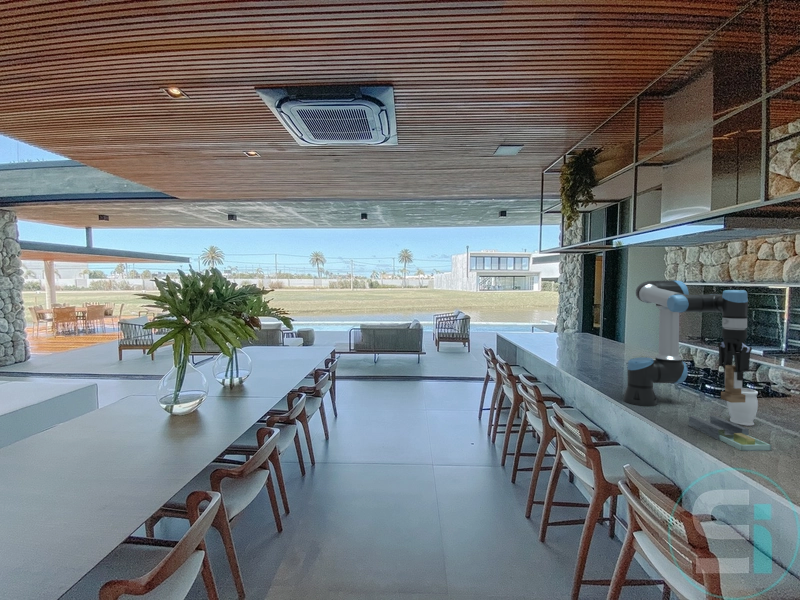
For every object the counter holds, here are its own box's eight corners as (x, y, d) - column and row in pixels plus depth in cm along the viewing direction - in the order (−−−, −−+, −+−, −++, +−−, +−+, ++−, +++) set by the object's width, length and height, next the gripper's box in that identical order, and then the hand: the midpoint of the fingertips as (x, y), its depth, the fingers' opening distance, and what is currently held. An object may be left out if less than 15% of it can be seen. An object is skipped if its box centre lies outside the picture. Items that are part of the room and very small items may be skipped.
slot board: (688, 425, 170) (688, 416, 170) (715, 425, 170) (716, 415, 170) (718, 440, 154) (718, 429, 154) (748, 439, 154) (748, 429, 154)
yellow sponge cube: (740, 436, 149) (747, 439, 146) (748, 435, 149) (755, 439, 146) (740, 443, 149) (747, 446, 146) (747, 443, 149) (755, 446, 146)
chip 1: (733, 440, 152) (733, 433, 152) (741, 440, 152) (741, 433, 152) (740, 443, 149) (740, 436, 149) (747, 443, 149) (748, 435, 149)
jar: (763, 427, 166) (764, 393, 166) (736, 426, 169) (736, 392, 168) (746, 419, 177) (747, 387, 176) (721, 418, 179) (721, 386, 178)
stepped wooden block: (720, 398, 157) (721, 364, 156) (734, 398, 157) (735, 364, 156) (731, 402, 152) (731, 367, 151) (745, 402, 152) (746, 367, 151)
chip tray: (719, 440, 154) (719, 435, 154) (747, 439, 154) (747, 434, 154) (741, 450, 144) (741, 445, 144) (771, 450, 144) (771, 445, 144)
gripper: (708, 326, 161) (707, 381, 162) (743, 331, 145) (742, 392, 146) (726, 326, 161) (725, 381, 162) (763, 330, 145) (761, 392, 145)
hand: (733, 386), depth 154 cm, fingers closed on stepped wooden block, 3 cm apart
